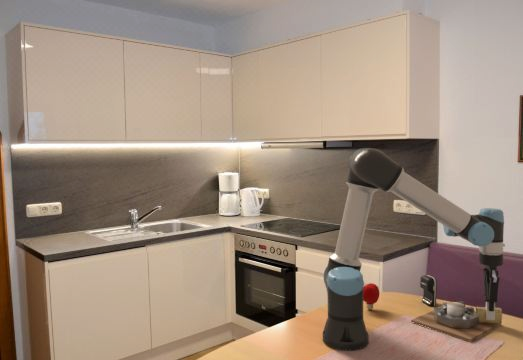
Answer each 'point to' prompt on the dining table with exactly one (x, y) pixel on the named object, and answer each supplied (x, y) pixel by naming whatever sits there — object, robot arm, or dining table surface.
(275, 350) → the dining table surface
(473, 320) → the ring nut
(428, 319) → the mount plate
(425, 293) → the battery charger
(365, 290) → the light bulb
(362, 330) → the robot arm
